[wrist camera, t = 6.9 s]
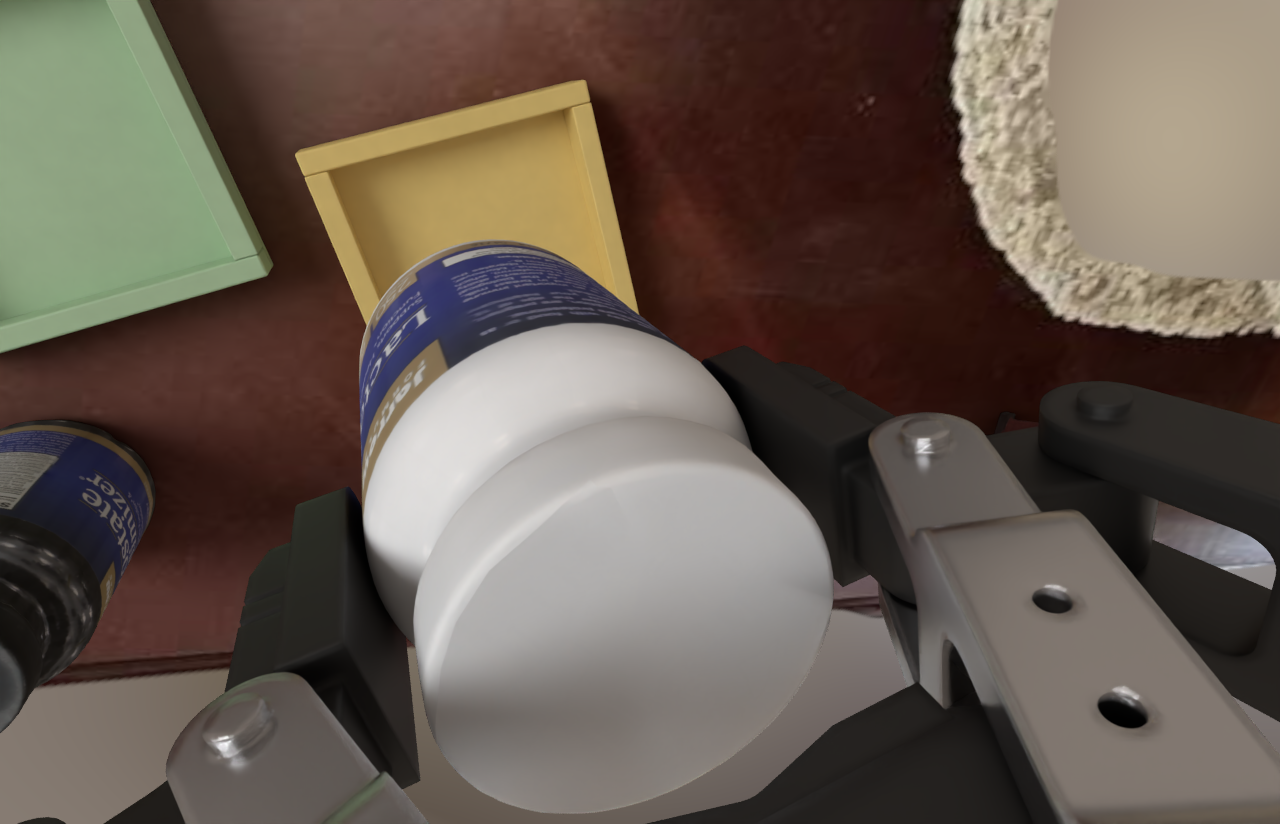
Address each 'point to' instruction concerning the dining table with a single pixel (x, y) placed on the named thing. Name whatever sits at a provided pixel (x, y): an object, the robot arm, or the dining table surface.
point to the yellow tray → (471, 189)
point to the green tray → (107, 174)
